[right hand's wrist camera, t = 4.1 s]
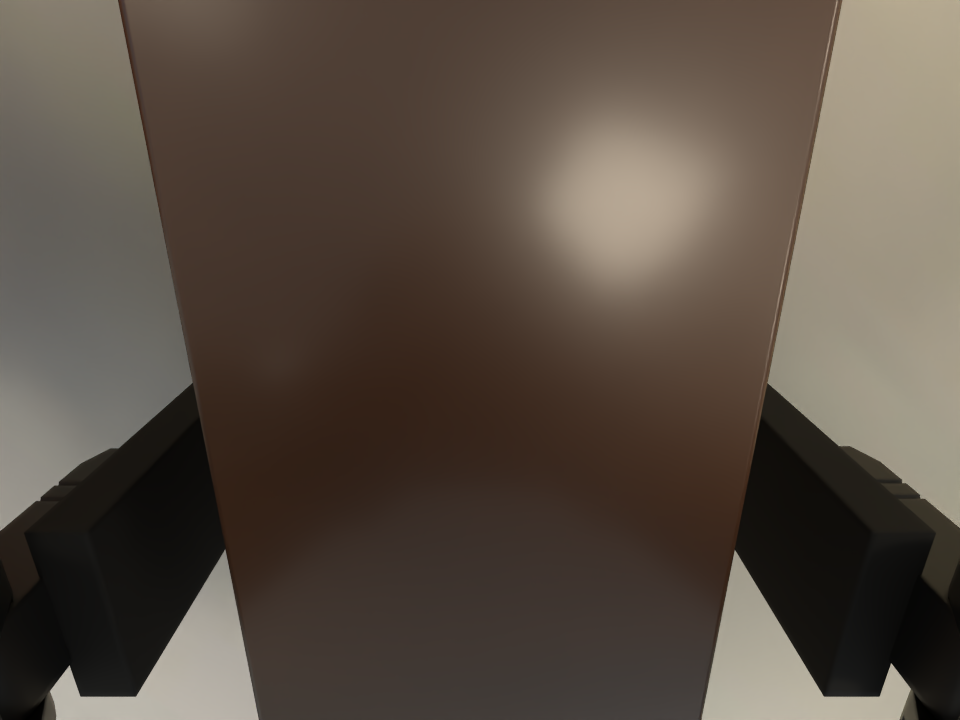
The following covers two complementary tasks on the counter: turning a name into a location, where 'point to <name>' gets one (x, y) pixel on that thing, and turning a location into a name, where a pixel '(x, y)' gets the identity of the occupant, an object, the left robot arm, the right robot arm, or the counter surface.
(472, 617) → the walnut bar
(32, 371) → the counter surface
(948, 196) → the counter surface
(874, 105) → the counter surface
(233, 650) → the counter surface
